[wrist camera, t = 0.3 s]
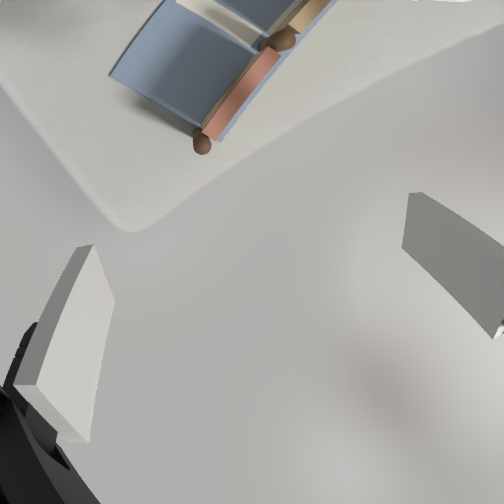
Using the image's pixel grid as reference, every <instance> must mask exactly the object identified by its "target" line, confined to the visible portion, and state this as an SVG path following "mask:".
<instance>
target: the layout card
mask: <svg viewBox="0 0 504 504" xmlns="http://www.w3.org/2000/svg"><path fill="white" fill-rule="evenodd" d="M302 1H303V0H166V1H165V2H164V3H163V4H162V5H161V7H160V8H159V9H158V10H157V11H156V13H155V14H154V15H153V16H152V18H151V19H150V20H149V21H148V23H147V24H146V25H145V27H144V28H143V29H142V31H141V32H140V33H139V35H138V36H137V37H136V39H135V40H134V41H133V43H132V44H131V46H130V47H129V48H128V50H127V51H126V53H125V54H124V56H123V57H122V59H121V60H120V62H119V63H118V65H117V66H116V68H115V69H114V71H113V72H112V74H111V75H110V77H112V78H113V79H115V80H117V81H119V82H121V83H123V84H124V85H126V86H128V87H130V88H132V89H133V90H135V91H137V92H139V93H140V94H142V95H144V96H146V97H147V98H149V99H151V100H153V101H154V102H156V103H158V104H159V105H161V106H163V107H164V108H166V109H168V110H170V111H171V112H173V113H175V114H176V115H178V116H179V117H181V118H183V119H184V120H186V121H188V122H189V123H191V124H193V125H194V126H196V127H197V128H201V123H202V122H203V120H204V119H205V118H206V116H207V115H208V113H209V112H210V111H211V109H212V108H213V107H214V105H215V104H216V102H217V101H218V100H219V98H220V97H221V96H222V94H223V93H224V92H225V91H226V89H227V88H228V87H229V85H230V84H231V83H232V81H233V80H234V79H235V78H236V76H237V75H238V74H239V73H240V71H241V70H242V69H243V68H244V66H245V65H246V64H247V63H248V61H249V60H250V59H251V58H252V57H253V55H254V54H255V53H258V52H259V51H258V44H259V42H260V41H262V40H264V39H265V38H267V37H269V36H271V34H272V33H273V32H274V31H275V30H276V29H277V27H278V26H279V25H280V24H281V23H282V22H283V21H284V20H285V19H286V18H287V16H288V15H289V14H290V13H291V12H292V11H293V10H294V9H295V8H296V7H297V6H298V5H299V4H300V3H301V2H302ZM337 1H338V0H332V1H331V2H330V3H329V4H328V5H327V6H326V7H325V8H324V9H323V10H322V11H321V12H320V13H319V14H318V15H317V16H316V18H315V19H314V20H313V21H312V22H311V23H310V24H309V25H308V26H307V27H306V28H305V30H304V31H303V32H302V33H301V34H299V35H298V34H295V37H296V44H295V45H294V47H292V48H291V49H288V50H285V51H281V52H278V54H280V55H281V57H280V58H279V60H278V61H277V62H276V63H275V64H274V66H273V67H272V68H271V69H270V70H269V72H268V73H267V74H266V75H265V77H264V78H263V79H262V80H261V82H260V83H259V84H258V85H257V87H256V88H255V89H254V90H253V92H252V93H251V94H250V96H249V97H248V98H247V99H246V101H245V102H244V103H243V105H242V106H241V107H240V109H239V110H238V111H237V113H236V114H235V115H234V117H233V118H232V119H231V121H230V122H229V123H228V125H227V126H226V127H225V129H224V130H223V131H222V133H221V134H220V136H219V137H218V138H217V140H218V141H219V142H221V141H222V140H223V138H224V137H225V136H226V134H227V133H228V132H229V130H230V129H231V127H232V126H233V125H234V123H235V122H236V121H237V119H238V118H239V117H240V115H241V114H242V113H243V111H244V110H245V109H246V108H247V106H248V105H249V104H250V102H251V101H252V100H253V98H254V97H255V96H256V95H257V93H258V92H259V91H260V90H261V88H262V87H263V86H264V85H265V83H266V82H267V81H268V80H269V78H270V77H271V76H272V75H273V73H274V72H275V71H276V70H277V69H278V67H279V66H280V65H281V64H282V63H283V61H284V60H285V59H286V58H287V57H288V55H289V54H290V53H291V52H292V51H293V50H294V48H295V47H296V46H297V45H298V44H299V43H300V41H301V40H302V39H303V38H304V37H305V36H306V35H307V33H308V32H309V31H310V30H311V29H312V28H313V27H314V26H315V25H316V23H317V22H318V21H319V20H320V19H321V18H322V17H323V16H324V15H325V14H326V13H327V12H328V11H329V9H330V8H331V7H332V6H333V5H334V4H335V3H336V2H337Z"/></svg>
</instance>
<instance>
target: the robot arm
mask: <svg viewBox="0 0 504 504" xmlns="http://www.w3.org/2000/svg"><path fill="white" fill-rule="evenodd" d="M402 249H404V250H405V251H406V252H407V253H408V254H409V255H410V256H411V257H412V258H413V259H414V260H415V261H417V262H418V263H419V264H420V265H421V266H422V267H423V268H424V269H425V270H426V271H427V272H428V273H429V274H430V275H431V276H432V277H433V278H434V279H435V280H437V282H439V283H440V284H441V285H442V286H443V287H444V288H445V289H446V290H447V291H448V292H449V293H450V294H451V295H452V296H453V297H454V298H455V299H456V300H457V301H458V303H459V304H460V305H461V306H462V307H463V308H464V309H465V310H466V311H467V312H468V313H469V314H470V315H471V316H472V317H473V318H474V319H475V320H476V321H477V323H478V324H479V325H480V326H481V327H482V328H483V329H484V330H485V331H486V332H487V334H488V335H489V336H490V337H491V338H492V339H494V338H496V337H498V336H499V335H501V334H503V333H504V246H502V245H501V244H500V243H498V242H497V241H496V240H494V239H493V238H491V237H490V236H489V235H487V234H486V233H484V232H483V231H481V230H480V229H479V228H477V227H476V226H474V225H473V224H471V223H470V222H468V221H467V220H465V219H464V218H462V217H461V216H459V215H458V214H456V213H455V212H453V211H451V210H450V209H448V208H447V207H445V206H444V205H442V204H440V203H439V202H437V201H436V200H434V199H432V198H431V197H429V196H427V195H425V194H424V193H422V192H418V193H409V197H408V207H407V214H406V222H405V229H404V237H403V243H402ZM114 304H115V300H114V297H113V295H112V292H111V290H110V287H109V285H108V282H107V279H106V277H105V274H104V272H103V269H102V266H101V264H100V261H99V258H98V255H97V252H96V250H95V247H94V244H92V245H87V246H83V247H78V248H77V249H76V250H75V252H74V253H73V255H72V257H71V259H70V260H69V262H68V264H67V266H66V268H65V270H64V271H63V273H62V275H61V277H60V279H59V281H58V283H57V285H56V287H55V289H54V291H53V292H52V294H51V296H50V298H49V300H48V303H47V305H46V307H45V309H44V311H43V313H42V315H41V317H40V319H39V322H35V323H33V324H32V325H31V327H30V328H29V329H28V330H27V331H26V332H25V334H24V336H23V338H22V340H21V342H20V345H19V346H20V347H19V348H18V349H17V352H16V354H15V358H14V359H13V361H12V364H11V366H10V369H9V371H8V374H7V376H6V379H5V382H4V385H3V387H1V386H0V504H100V502H99V501H98V500H97V499H96V497H95V496H94V495H93V493H92V492H91V491H90V489H89V488H88V487H87V485H86V484H85V483H84V481H83V480H82V479H81V477H80V476H79V474H78V473H77V471H76V470H75V468H74V467H73V465H72V464H71V462H70V461H69V459H68V458H67V456H66V455H65V453H64V452H63V450H62V448H61V447H60V446H59V445H58V444H57V443H56V438H57V433H58V434H59V435H61V436H62V437H63V438H64V439H65V440H66V441H67V442H73V443H89V442H90V433H91V425H92V417H93V410H94V403H95V397H96V391H97V385H98V379H99V373H100V368H101V363H102V358H103V353H104V348H105V343H106V338H107V334H108V329H109V325H110V321H111V316H112V312H113V308H114Z"/></svg>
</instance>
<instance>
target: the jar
mask: <svg viewBox="0 0 504 504" xmlns="http://www.w3.org/2000/svg"><path fill="white" fill-rule="evenodd" d="M438 1H450V2H463V1H471V0H438Z"/></svg>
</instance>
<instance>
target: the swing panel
mask: <svg viewBox="0 0 504 504" xmlns="http://www.w3.org/2000/svg"><path fill="white" fill-rule="evenodd" d="M280 57H281V55H280V54H278V53H277V52H276V51H274V50H273V49H272V48H270V47H269V46H268V47H266V48H265V49H264V50H262V51H260V52H258V53H255V54H254V55H253V57H252V58H251V59H250V60H249V61H248V63H247V64H246V65H245V66H244V68H243V69H242V70H241V71H240V73H239V74H238V75H237V76H236V78H235V79H234V80H233V81H232V83H231V84H230V85H229V87H228V88H227V89H226V91H225V92H224V93H223V94H222V96H221V97H220V98H219V100H218V101H217V102H216V104H215V105H214V107H213V108H212V109H211V111H210V112H209V113H208V115H207V116H206V118H205V119H204V120H203V122H202V123H201V128H197V129H195V130H194V132H193V146H194V150H195V152H196V153H198V154H200V155H204V154H207V153H208V152H209V151H210V150H211V142H210V139H209V137H210V138H211V139H213V140H215V141H216V140H217V138H218V137H219V136H220V134H221V133H222V131H223V130H224V129H225V127H226V126H227V125H228V123H229V122H230V121H231V119H232V118H233V117H234V115H235V114H236V113H237V111H238V110H239V109H240V107H241V106H242V105H243V103H244V102H245V101H246V99H247V98H248V97H249V96H250V94H251V93H252V92H253V90H254V89H255V88H256V87H257V85H258V84H259V83H260V82H261V80H262V79H263V78H264V77H265V75H266V74H267V73H268V72H269V70H270V69H271V68H272V67H273V66H274V64H275V63H276V62H277V61H278V60H279V58H280Z"/></svg>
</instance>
